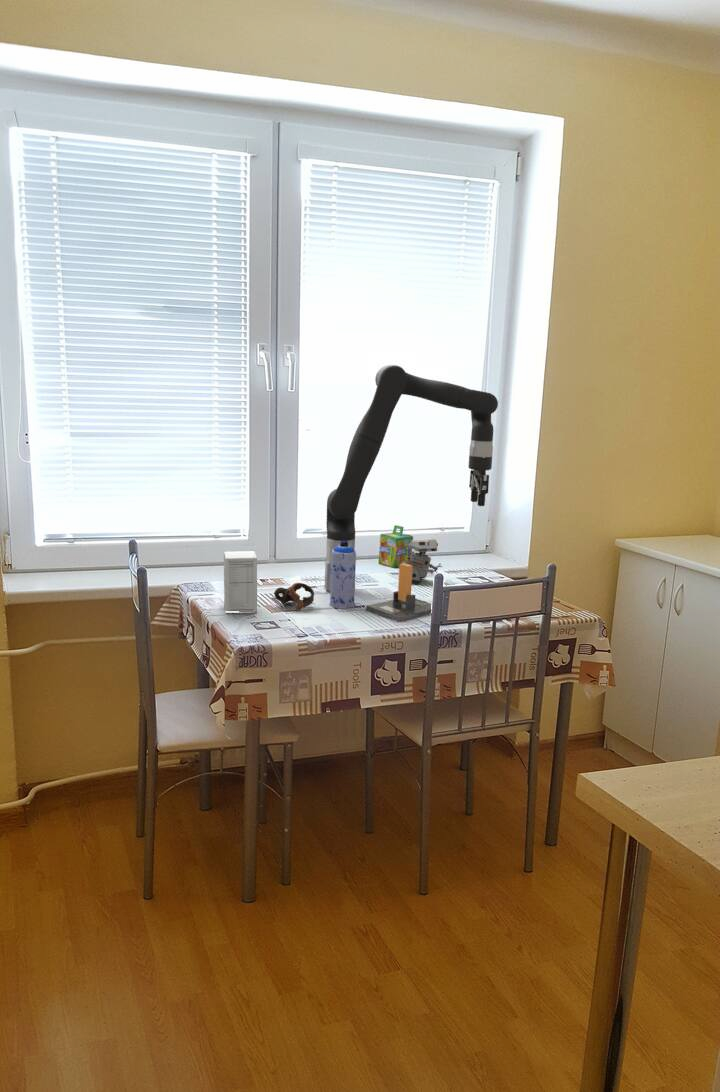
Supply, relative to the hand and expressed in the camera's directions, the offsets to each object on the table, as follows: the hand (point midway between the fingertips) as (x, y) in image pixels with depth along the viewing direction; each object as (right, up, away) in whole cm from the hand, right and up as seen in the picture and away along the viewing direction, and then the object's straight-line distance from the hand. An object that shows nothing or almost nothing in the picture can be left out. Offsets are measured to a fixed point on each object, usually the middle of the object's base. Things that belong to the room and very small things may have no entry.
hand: (477, 503), depth 266 cm
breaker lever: (-25, -31, -23) cm, 46 cm away
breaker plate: (-26, -34, -22) cm, 48 cm away
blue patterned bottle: (-44, -32, -18) cm, 58 cm away
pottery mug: (-59, -33, -21) cm, 71 cm away
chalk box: (-26, -21, +38) cm, 51 cm away
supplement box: (-74, -33, -27) cm, 86 cm away
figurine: (-17, -27, +14) cm, 35 cm away
